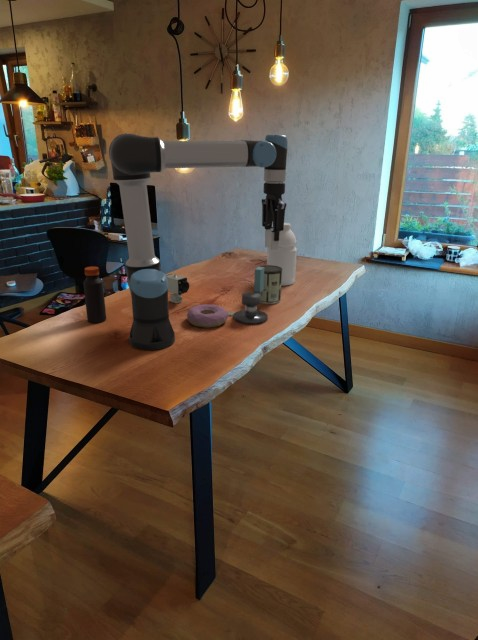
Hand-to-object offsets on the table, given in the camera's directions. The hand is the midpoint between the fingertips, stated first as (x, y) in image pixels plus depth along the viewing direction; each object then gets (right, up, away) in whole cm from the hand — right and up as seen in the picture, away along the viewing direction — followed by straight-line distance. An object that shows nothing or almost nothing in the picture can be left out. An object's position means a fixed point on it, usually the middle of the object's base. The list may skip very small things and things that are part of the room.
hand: (271, 248), depth 168 cm
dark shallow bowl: (-9, -26, +7) cm, 28 cm away
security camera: (-38, -19, +23) cm, 48 cm away
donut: (-24, -27, +3) cm, 37 cm away
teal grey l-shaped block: (-6, -19, +7) cm, 21 cm away
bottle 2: (+8, -8, +52) cm, 53 cm away
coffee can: (+1, -18, +27) cm, 32 cm away
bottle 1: (-65, -27, +2) cm, 70 cm away
